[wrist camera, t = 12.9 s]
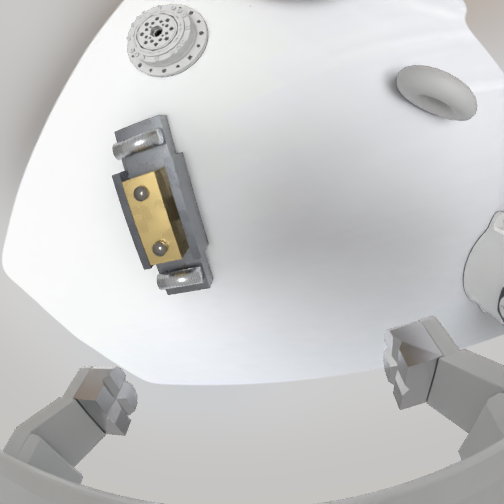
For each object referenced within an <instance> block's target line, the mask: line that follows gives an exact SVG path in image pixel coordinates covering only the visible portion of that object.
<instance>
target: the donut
mask: <svg viewBox="0 0 504 504" xmlns="http://www.w3.org/2000/svg"><path fill="white" fill-rule="evenodd" d="M397 87H398V89H399V91H400V93H401V94H402V95H403V96H404V97H405V98H406V99H407V100H409V101H410V102H411V103H413V104H414V105H416V106H418V107H419V108H421V109H423V110H425V111H428V112H430V113H432V114H435V115H437V116H440V117H443V118H447V119H450V120H457V121H465V120H469V119H471V118H472V117H473V116H474V115H475V114H476V111H477V101H476V98H475V95H474V94H473V92H472V91H471V90H470V88H469V87H468V86H467V85H466V84H464V83H463V82H462V81H461V80H459V79H458V78H456V77H454V76H453V75H451V74H449V73H447V72H445V71H442V70H440V69H437V68H433V67H429V66H421V65H413V66H408V67H405V68H404V69H402V70H401V71H400V72H399V73H398V75H397Z"/></svg>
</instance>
